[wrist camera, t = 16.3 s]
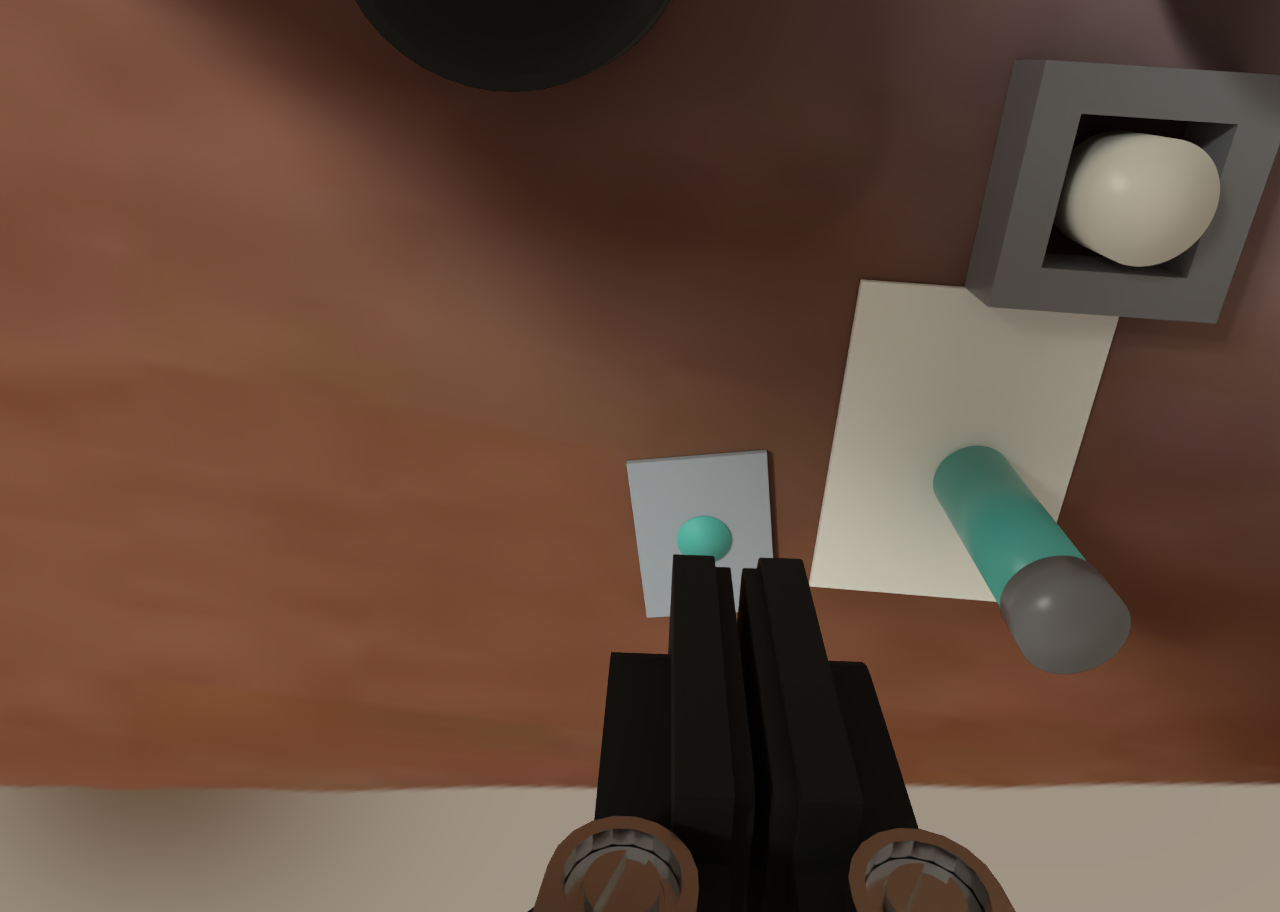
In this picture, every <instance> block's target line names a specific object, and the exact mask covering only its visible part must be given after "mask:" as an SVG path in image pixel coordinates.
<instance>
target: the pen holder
mask: <svg viewBox="0 0 1280 912" xmlns="http://www.w3.org/2000/svg"><path fill="white" fill-rule="evenodd" d="M355 1H356V2H357V4H358V5H359V7H360V9H361V10H362V12H363V13H364V15H365V17H366V18H367V19H368V20H369V21H370V23H371V24H372V25H373V26H374V27H375V28H376V29H377V31H378V32H379V33H380V34H381V35H382V36H383V37H384V38H385V39H386V40H387V41H388V42H389V43H391V44H392V45H393V46H394V47H395V48H396V49H397V50H399V51H400V52H401V53H402V54H403V55H405V56H406V57H408V58H409V59H411V60H412V61H414V62H415V63H417V64H418V65H420V66H421V67H423V68H425V69H427V70H429V71H431V72H433V73H435V74H437V75H439V76H441V77H443V78H445V79H448V80H451V81H454V82H457V83H460V84H463V85H466V86H469V87H474V88H480V89H485V90H490V91H505V92H522V91H532V90H541V89H545V88H549V87H553V86H557V85H561V84H565V83H567V82H570V81H572V80H574V79H577V78H579V77H582V76H584V75H586V74H589V73H590V72H592V71H594V70H596V69H598V68H600V67H602V66H604V65H605V64H607V63H609V62H611V61H612V60H614V59H616V58H617V57H619V56H621V55H623V54H624V53H625V52H626V51H628V50H629V49H630V48H631V47H633V46H634V45H635V44H637V43H638V42H639V41H640V40H641V39H642V38H643V36H644V35H645V34H646V33H647V32H648V31H649V30H650V29H651V28H652V27H653V25H654V24H655V23H656V21H657V20H658V19H659V17H660V16H661V14H662V13H663V11H664V10H665V8H666V6H667V4H668V3H669V1H670V0H355Z"/></svg>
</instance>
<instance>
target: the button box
mask: <svg viewBox="0 0 1280 912" xmlns="http://www.w3.org/2000/svg"><path fill="white" fill-rule="evenodd" d="M1081 114H1092V115H1107V116H1122V117H1137V118H1152V119H1167V120H1181V121H1189V122H1188V125H1187V128H1186V132H1185V135H1184V138H1183V140H1184V141H1188V142H1191V143H1193V144H1195V145H1197V146H1198V147H1200V148H1201V149H1203V150H1204V151H1205V152H1206V153H1207V154H1208V155H1209V156H1210V158H1211V159H1212V160H1213V162H1214V164H1215V166H1216V168H1217V171H1218V174H1219V180H1220V196H1219V202H1218V206H1217V209H1216V212H1215V214H1214V217H1213V219H1212V221H1211V222H1210V224H1209V226H1208V227H1207V229H1206V230H1205V232H1204V233H1203V234H1202V235H1201V237H1200V238H1199V239H1198V240H1197V241H1196V242H1195V243H1194V244H1193V245H1192V246H1191V247H1189V248H1188V249H1187V250H1186V251H1184V252H1183V253H1181V254H1180V255H1178V256H1176V257H1174V258H1172V259H1170V260H1168V261H1165V262H1163V263H1160V264H1156V265H1152V266H1143V267H1135V266H1128V265H1124V264H1120V263H1118V262H1116V261H1113V260H1111V259H1109V258H1107V257H1095V256H1081V255H1067V254H1053V253H1045V252H1046V248H1047V245H1048V241H1049V237H1050V233H1051V229H1052V225H1053V221H1054V217H1055V214H1056V210H1057V206H1058V202H1059V198H1060V194H1061V190H1062V186H1063V183H1064V179H1065V175H1066V171H1067V167H1068V163H1069V159H1070V155H1071V152H1072V148H1073V144H1074V140H1075V136H1076V132H1077V128H1078V124H1079V121H1080V117H1081ZM1279 145H1280V75H1273V74H1257V73H1242V72H1227V71H1212V70H1196V69H1181V68H1166V67H1150V66H1135V65H1120V64H1105V63H1089V62H1074V61H1059V60H1014V64H1013V68H1012V73H1011V77H1010V82H1009V86H1008V91H1007V95H1006V100H1005V104H1004V109H1003V113H1002V118H1001V122H1000V127H999V131H998V136H997V140H996V145H995V149H994V154H993V158H992V163H991V168H990V172H989V177H988V181H987V186H986V190H985V195H984V199H983V204H982V208H981V213H980V217H979V222H978V226H977V231H976V235H975V240H974V244H973V249H972V253H971V258H970V262H969V267H968V271H967V276H966V280H965V285H964V287H965V288H966V289H967V290H968V291H970V292H971V293H972V294H973V295H974V296H976V297H977V298H978V299H979V300H980V301H982V302H983V303H984V304H985V305H986V306H987V307H995V308H1009V309H1022V310H1036V311H1050V312H1063V313H1077V314H1091V315H1104V316H1118V317H1132V318H1145V319H1159V320H1172V321H1186V322H1200V323H1213V324H1216V323H1217V320H1218V317H1219V315H1220V312H1221V309H1222V306H1223V303H1224V300H1225V298H1226V295H1227V292H1228V289H1229V286H1230V283H1231V281H1232V278H1233V275H1234V272H1235V269H1236V266H1237V264H1238V261H1239V258H1240V255H1241V252H1242V250H1243V247H1244V244H1245V241H1246V238H1247V235H1248V233H1249V230H1250V227H1251V224H1252V221H1253V218H1254V216H1255V213H1256V210H1257V207H1258V204H1259V201H1260V199H1261V196H1262V193H1263V190H1264V187H1265V185H1266V182H1267V179H1268V176H1269V173H1270V170H1271V168H1272V165H1273V162H1274V159H1275V156H1276V153H1277V151H1278V148H1279Z"/></svg>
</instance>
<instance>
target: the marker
mask: <svg viewBox="0 0 1280 912" xmlns="http://www.w3.org/2000/svg"><path fill="white" fill-rule="evenodd" d="M933 489H934V493H935V496H936V497H937V499H938V501H939V503H940V504H941V506H942V508H943V510H944V511H945V513H946V515H947V516H948V518H949V520H950V522H951V523H952V525H953V527H954V529H955V530H956V532H957V534H958V536H959V537H960V539H961V541H962V542H963V544H964V546H965V548H966V549H967V551H968V553H969V555H970V556H971V558H972V560H973V562H974V563H975V565H976V567H977V568H978V570H979V572H980V574H981V575H982V577H983V579H984V581H985V582H986V584H987V586H988V587H989V589H990V591H991V593H992V594H993V596H994V598H995V600H996V601H997V603H998V605H999V607H1000V612H1001V615H1002V618H1003V620H1004V621H1005V623H1006V625H1007V627H1008V628H1009V630H1010V632H1011V634H1012V635H1013V637H1014V639H1015V641H1016V642H1017V644H1018V646H1019V648H1020V649H1021V651H1022V653H1023V655H1024V656H1025V658H1026V659H1027V660H1028V661H1029V662H1030V663H1031V664H1032V665H1034V666H1035V667H1037V668H1039V669H1041V670H1043V671H1046V672H1050V673H1055V674H1073V673H1079V672H1084V671H1087V670H1090V669H1092V668H1095V667H1097V666H1099V665H1101V664H1103V663H1104V662H1106V661H1107V660H1109V659H1110V658H1111V657H1113V656H1114V655H1115V654H1116V653H1117V652H1118V651H1119V650H1120V649H1121V647H1122V646H1123V645H1124V643H1125V641H1126V640H1127V638H1128V635H1129V632H1130V628H1131V617H1130V613H1129V610H1128V608H1127V606H1126V605H1125V604H1124V602H1123V601H1122V600H1121V599H1120V597H1119V596H1118V595H1117V594H1116V592H1115V591H1114V590H1113V588H1112V587H1111V586H1110V585H1109V583H1108V582H1107V581H1106V580H1105V578H1104V577H1103V576H1102V575H1101V573H1100V572H1099V571H1098V570H1097V569H1096V568H1095V567H1094V566H1093V565H1092V564H1090V563H1089V562H1087V561H1086V560H1085V558H1084V557H1083V556H1082V555H1081V553H1080V552H1079V551H1078V550H1077V548H1076V547H1075V546H1074V544H1073V543H1072V542H1071V541H1070V539H1069V538H1068V537H1067V536H1066V534H1065V533H1064V532H1063V531H1062V529H1061V528H1060V527H1059V525H1058V524H1057V523H1056V522H1055V520H1054V519H1053V518H1052V517H1051V515H1050V514H1049V513H1048V511H1047V510H1046V509H1045V508H1044V506H1043V505H1042V504H1041V503H1040V501H1039V500H1038V499H1037V498H1036V496H1035V495H1034V494H1033V492H1032V491H1031V490H1030V489H1029V487H1028V486H1027V485H1026V484H1025V482H1024V481H1023V480H1022V479H1021V477H1020V476H1019V475H1018V473H1017V472H1016V471H1015V470H1014V468H1013V467H1012V466H1011V465H1010V463H1009V462H1008V461H1007V460H1006V458H1005V457H1004V456H1003V455H1002V454H1001V453H1000V452H998V451H997V450H995V449H993V448H990V447H986V446H969V447H965V448H962V449H959V450H957V451H955V452H953V453H952V454H950V455H949V456H948V457H946V458H945V459H944V460H943V461H942V462H941V464H940V465H939V467H938V468H937V470H936V472H935V475H934V479H933Z"/></svg>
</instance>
